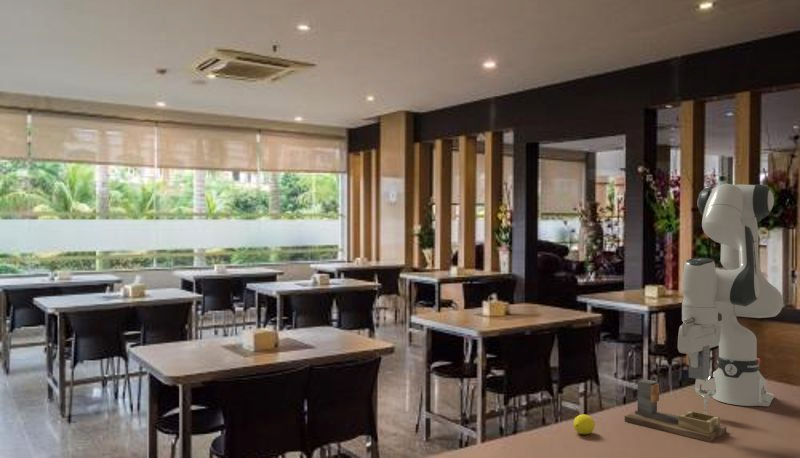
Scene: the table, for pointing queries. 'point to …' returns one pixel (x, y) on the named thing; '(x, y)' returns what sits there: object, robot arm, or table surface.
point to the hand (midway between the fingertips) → (699, 365)
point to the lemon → (584, 424)
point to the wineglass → (705, 389)
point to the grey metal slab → (700, 365)
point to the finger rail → (672, 416)
